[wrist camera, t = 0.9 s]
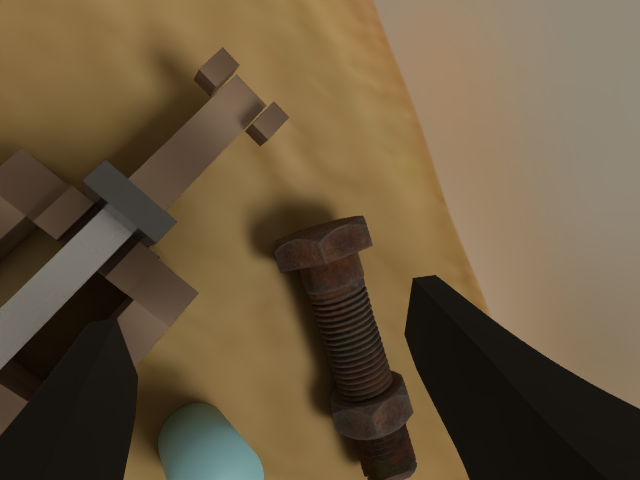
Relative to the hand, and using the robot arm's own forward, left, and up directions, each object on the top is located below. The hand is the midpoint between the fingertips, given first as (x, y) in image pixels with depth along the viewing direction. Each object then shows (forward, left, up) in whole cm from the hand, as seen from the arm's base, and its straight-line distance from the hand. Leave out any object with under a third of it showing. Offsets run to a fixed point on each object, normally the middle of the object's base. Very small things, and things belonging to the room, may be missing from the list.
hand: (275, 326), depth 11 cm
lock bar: (-3, +5, -10) cm, 11 cm away
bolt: (+3, -9, -14) cm, 17 cm away
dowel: (-5, -5, -14) cm, 16 cm away
